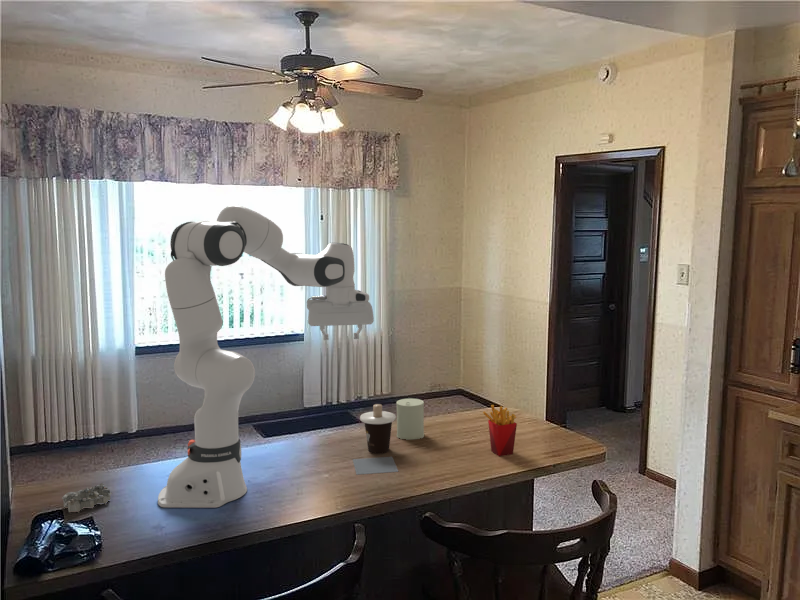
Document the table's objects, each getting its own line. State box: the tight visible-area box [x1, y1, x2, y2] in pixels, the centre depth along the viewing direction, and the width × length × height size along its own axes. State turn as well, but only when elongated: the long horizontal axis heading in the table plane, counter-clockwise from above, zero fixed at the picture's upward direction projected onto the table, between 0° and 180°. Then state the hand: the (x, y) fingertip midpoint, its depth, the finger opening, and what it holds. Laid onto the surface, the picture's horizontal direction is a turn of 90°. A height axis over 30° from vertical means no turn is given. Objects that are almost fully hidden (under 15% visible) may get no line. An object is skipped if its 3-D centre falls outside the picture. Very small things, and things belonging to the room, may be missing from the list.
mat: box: [352, 456, 399, 476], centre depth 196 cm, size 12×12×1 cm
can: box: [396, 397, 425, 441], centre depth 222 cm, size 9×9×12 cm
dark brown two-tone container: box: [364, 422, 393, 455], centre depth 209 cm, size 12×9×10 cm
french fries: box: [482, 404, 518, 457], centre depth 204 cm, size 9×8×15 cm
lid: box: [359, 403, 397, 424], centre depth 208 cm, size 11×11×4 cm
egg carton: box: [61, 482, 113, 513], centre depth 172 cm, size 11×8×4 cm
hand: (341, 339), depth 209 cm, fingers open, 8 cm apart
